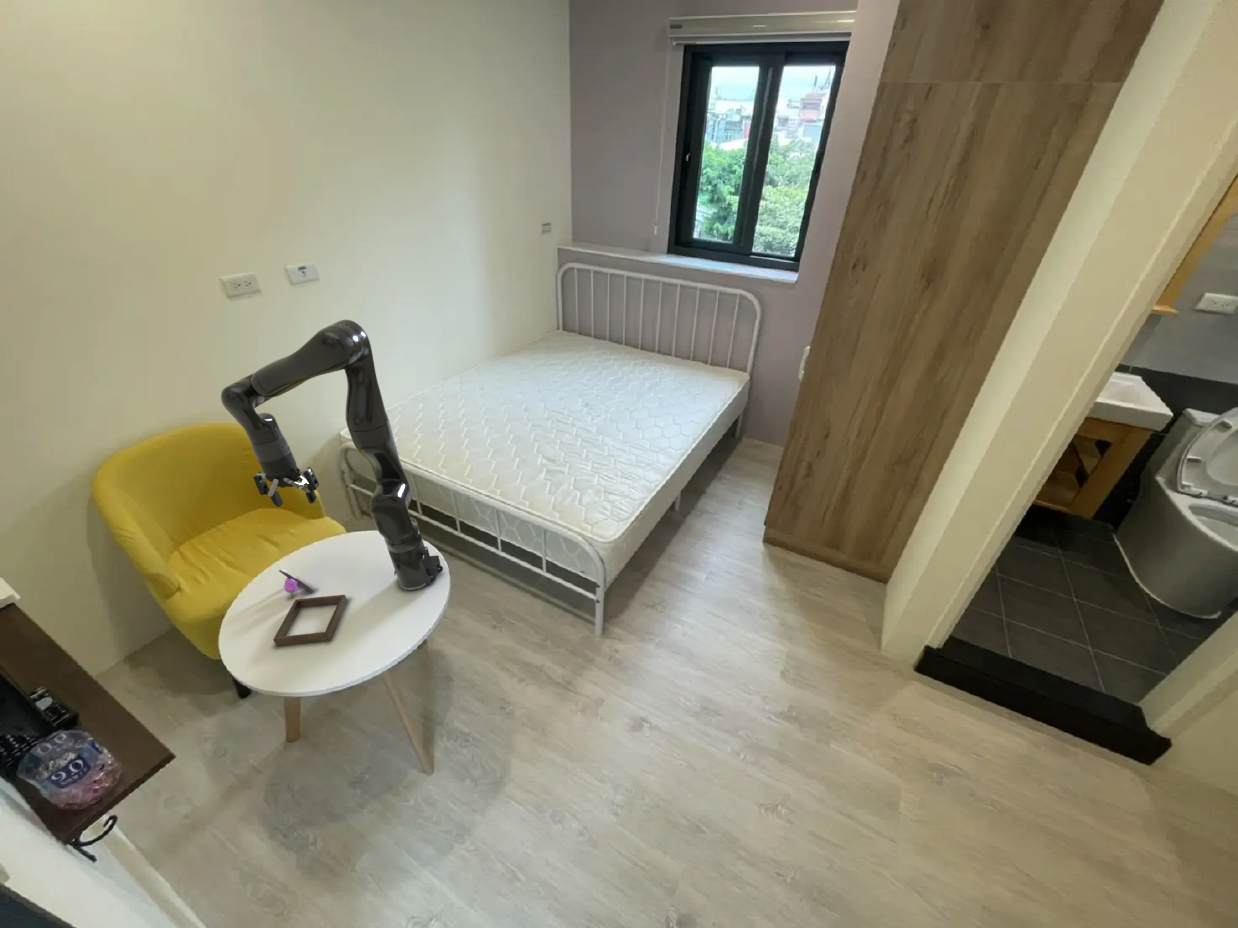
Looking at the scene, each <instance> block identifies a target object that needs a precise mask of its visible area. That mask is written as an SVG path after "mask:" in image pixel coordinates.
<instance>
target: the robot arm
mask: <svg viewBox="0 0 1238 928" xmlns="http://www.w3.org/2000/svg"><path fill="white" fill-rule="evenodd" d="M342 370H344V373H345V377H346V383H347V386H346V387H347V391H346V399H345V400H346V401H345V414H344V415H345V423H346V426H347V430H348V433H349V435H350V438H351V441H352V444H353V445H354V447H355V449H356V450H357V451H358V453H360V454H361V455H362V457H364V458H365V459H366V460H367V461H368V462H369V464H370V466H371V468H372V471H373V474H374V478H375V484H376V486H375V487H376V488H375V490H374V492H373V494H372V495H371V498H370V500H369V511H370V514H371V517H372V520H373V521H374V522H373V523H374V525H375V527H376V530H377V531H378V534H380V535H381V536H382V538H383V540H384V543H385V545H386V549H387V551H388V555H389V557H390V560H391V564H392V566H393V568H394V571H393V574H394V576H396V577H397V581H398V585H399V587H400V588H401V589H403V590H405V591H416V590H420V589H422V588H424V587H426V586H429V585H431V584H432V580H433V577H437V576H438V575H439V574H440V573H442V572H443V570H444V567H443V566H442V565H441V560H440V558H439V557H440V556H439V555H430V551H429V548H428V546H427V545H426V546H425V544H424V541H423V537H422V533H421V531H420V530H421V529H420V527H419V523H418V521H417V520H416V519H415V518H413V517H411V514H410V512H409V507H410V504H411V501H412V499H413V490H412V486H411V483H410V481H409V479H408V476H407V474H406V472H405V469H404V468H403V465H402V463H401V460H400V456H399V451H398V449H397V448H398V447H397V445H396V441H395V437H394V433H393V429H392V426H391V423H390V419H389V415H388V413H387V410H386V407H385V404H384V400H383V396H382V392H381V389H380V385H379V381H378V377H377V372H376V367H375V361H374V354H373V350H372V345H371V341H370V339H369V336H368V334H367V332H366V330H364V328H363V327H362V326H361V324H359V323H357V322H355V321H354V320H351V319H341V320H338V321H336V322H334V323H331V324H330V325H328V326H326V327H323V328H321V329H319V330H318V331H317V332H316V333H315V334H314V335H313V336H312V337H310V339H309V340H307V341H306V343H304V344H303V345H302V346H301V347H300V348H299V349H297V350H295V352H292V353H291V354H289V355H287V356H283V357H282V358H279V359H276V360H274V361H272V362H270V363H268V364H266V365H264V366H263V367H261V368H259V369H257V370H256V371H254V372H253V373H251V374H249V375H246V376H245V377H243V378H241V379H239V380H236V381H235V382H232V383H231V384H229V385H227V386H225V387H223V389H222V390H221V392H220V401H221V404H222V406H223V407H224V408H225V410H226V411H227V412H228V413H229V414H230V415H231V416H232V417H233V418H234V419H235V421H236V422H237V423H238V424H239V425H240V426H241V427H242V429H243V430H244V431H245V434H246V436H247V438H248V441H249V442H250V444H251V447H252V451H253V453H254V455H255V457H256V459H257V462H258V464H259V466H260V468H261V470H262V471H258V472H257V473H256V474H255V475H254V476H253V481H254V484H255V485H256V488H257V490H258V493H259V494H260V496H266V495H267V496H268V497H270V499H271V502H272V504H273V505H274V506H276V508H278V507H282V505H283V504H284V500H283V499H282V497H281V495H280V494H281V493H280V492H279V491H278V488H280V489H282V488H296V489H298V490H301V491H303V492H305V493H304V494H305V496H306V499H307V500H308V503H309V505H310V504H314V503H315V502H316V500H317V494H316V493H315V491H316V490H317V488H318V487H319V486H320V482H319V480H318V478H317V476H316V474H315V472H314V470H313V468H312V467H310V466H309V467H306V469H301V468H299V467H298V466H297V462H296V459H295V457H294V455H293V453H292V450H291V447H290V445H289V443H288V441H287V439H286V438H285V436H284V434H283V432H282V430H281V428H280V426H279V423H278V421H277V419H276V418H275V416H274V415H273V414H272V413H269V412H260V413H259V412H256V409H257V408H258V407H259V406H261V405H263V404H264V403H266V402H268V401H270V400H271V399H273V398H277V397H280V396H282V395H284V394H286V393H288V392H290V391H292V390H294V389H296V388H297V387H299V386H301V385H303V384H304V383H305V382H307V381H309V380H311V379H313V378H316V377H319V376H322V375H327V374H331V373H335V372H340V371H342ZM267 481H269V482H270V483H271V485H270V487H269V485H268V483H267Z"/></svg>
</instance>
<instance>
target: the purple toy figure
mask: <svg viewBox="0 0 1238 928" xmlns="http://www.w3.org/2000/svg"><path fill="white" fill-rule="evenodd" d="M278 572H279V573H281V575H283V576H285V577H286V578H285V579H284V583H283V588H284V591H285V592H286V593H288V594H289V596H290V598H293V594H294V593H295V592H296V591H298V588H297V586H298V585H299V586H300V587H303V588H305V589H306V590H308V591H310V592H312V593H314V589H312V588H311V587H309V586H308V585H306V584H305V583H303V581H301V580H300V579H298V578H296V577H294V576H293V575H291V574H290V573H288V571H287V570H286V569H282V570H281V569H278Z"/></svg>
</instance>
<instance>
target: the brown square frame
mask: <svg viewBox="0 0 1238 928" xmlns="http://www.w3.org/2000/svg"><path fill="white" fill-rule="evenodd" d="M347 604H348V598H347V596H346V594H338V595H337V594H335V595H328V596H327V595H326V596H315V597H306V598H297V599H295V600H294V601H293V603H292V604H291V606H290V608H289V610H288V612H287V614H286V616H285V617H284V620H282V623H281V625H280V626H279V628H278V630H277V631H276V633H275V636H274V638H273V639H272V640H273V642H274V643H275V645H276V647H282V646H291V645H293V646H294V645H301V644H302V645H303V644H312V643H321V642H330V641H331V640H332V638H333V636H334V633H335V631H336V628H337V626H338V624H339V621H340V619H341V617H342V615H343V613H344V610H345V608H346V606H347ZM330 605H331V606H332V605H336V607H335V609H334V611H333V613H332V615H331V618H330V620H329V622H328V624H327V627H326V629H325V630H324V631H322V632H313V633H302V634H292V635H291V634H290V635H288V632H289V630H290V629H291V627H292V624H293V622H294V621H295V619H296V617H297V615H298V613H299V611H300V609H302V608H311V607H320V606H321V607H322V606H330Z"/></svg>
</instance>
